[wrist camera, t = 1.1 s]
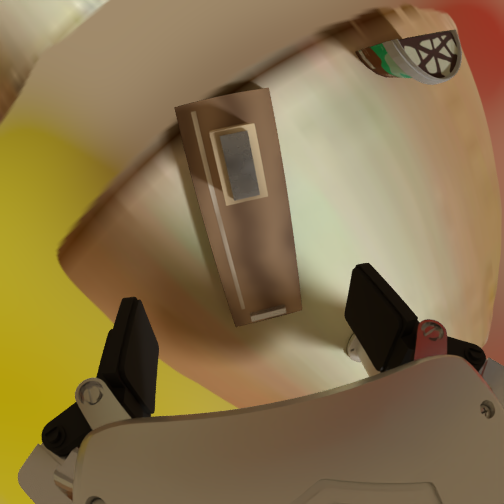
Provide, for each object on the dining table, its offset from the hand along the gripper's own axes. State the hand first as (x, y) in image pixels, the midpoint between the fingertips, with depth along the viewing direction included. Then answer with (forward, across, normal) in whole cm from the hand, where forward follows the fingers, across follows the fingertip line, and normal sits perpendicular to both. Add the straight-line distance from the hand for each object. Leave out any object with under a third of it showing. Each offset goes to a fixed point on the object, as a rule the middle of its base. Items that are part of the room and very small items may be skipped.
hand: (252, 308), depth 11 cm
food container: (+23, -23, -16) cm, 36 cm away
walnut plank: (+22, -3, +5) cm, 23 cm away
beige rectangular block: (+20, -2, -3) cm, 21 cm away
